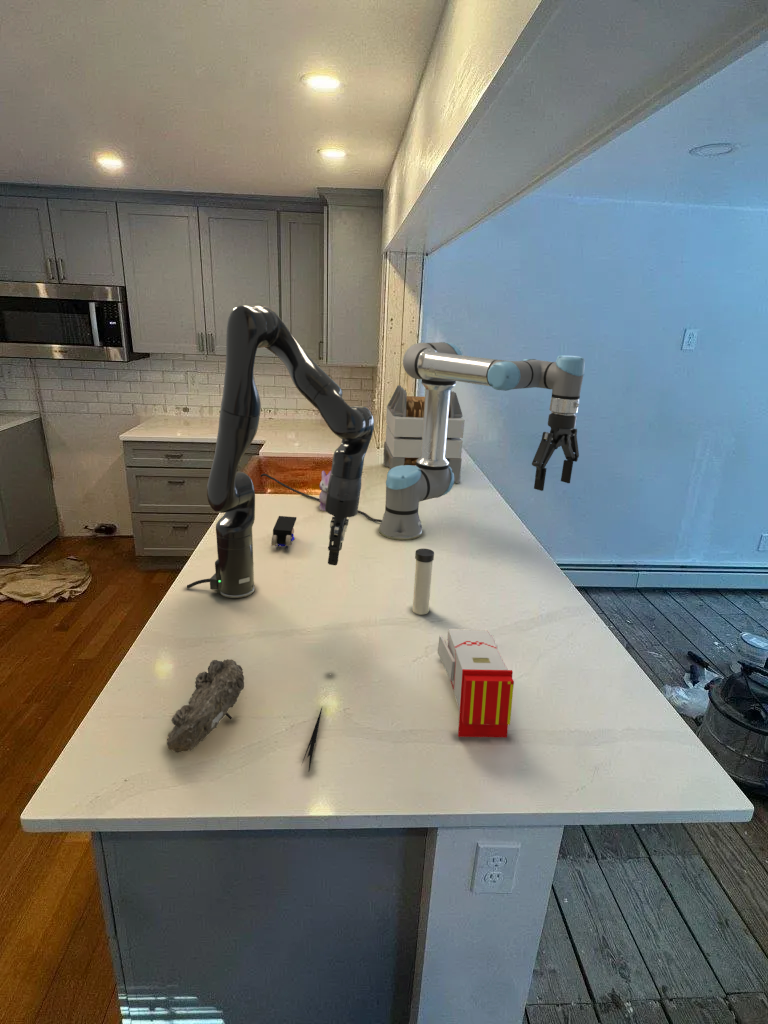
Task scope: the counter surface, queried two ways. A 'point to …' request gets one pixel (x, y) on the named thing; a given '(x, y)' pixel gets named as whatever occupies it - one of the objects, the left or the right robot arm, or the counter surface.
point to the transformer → (419, 431)
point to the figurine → (324, 490)
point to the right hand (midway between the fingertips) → (552, 485)
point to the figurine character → (283, 531)
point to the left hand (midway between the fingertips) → (334, 556)
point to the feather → (313, 740)
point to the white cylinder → (422, 587)
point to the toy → (478, 682)
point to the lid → (424, 555)
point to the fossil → (206, 705)
